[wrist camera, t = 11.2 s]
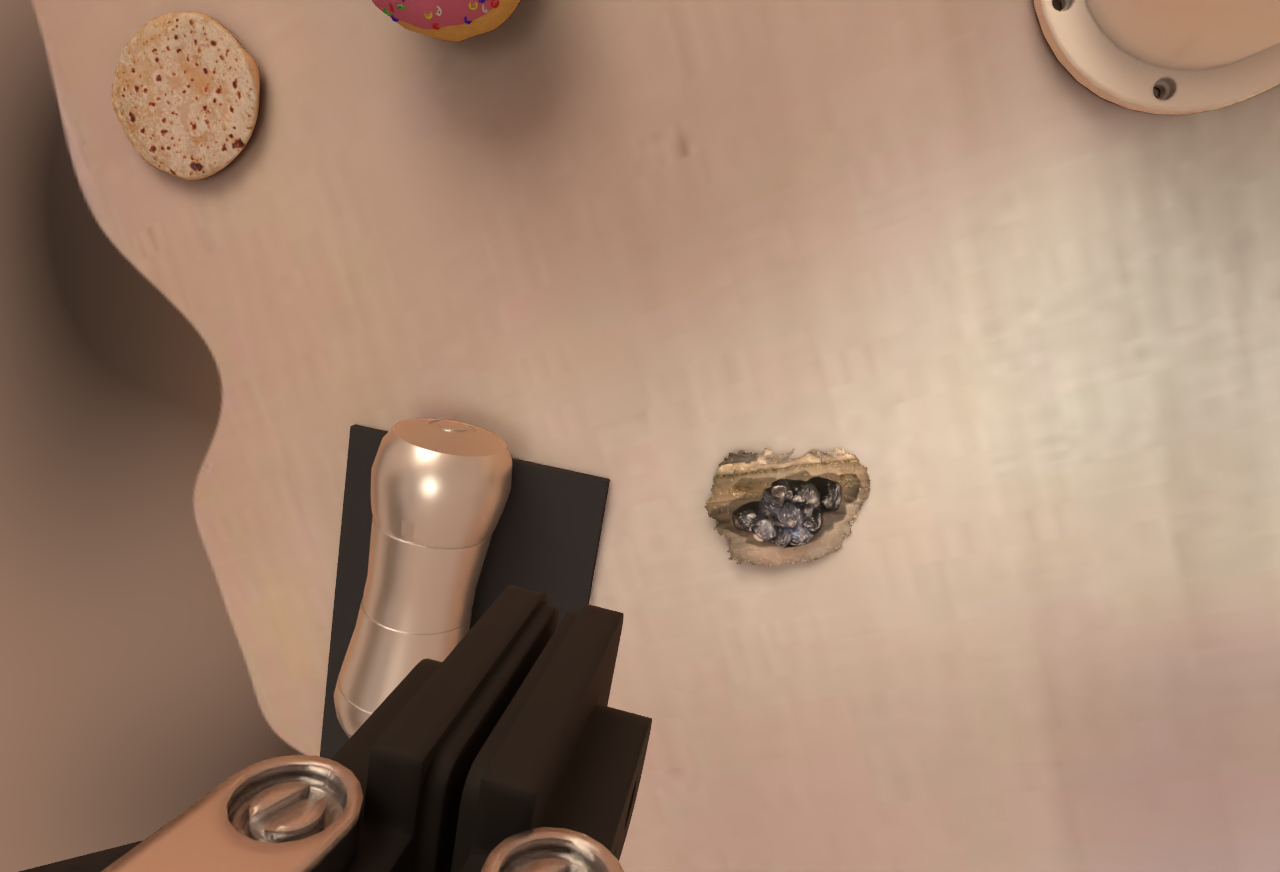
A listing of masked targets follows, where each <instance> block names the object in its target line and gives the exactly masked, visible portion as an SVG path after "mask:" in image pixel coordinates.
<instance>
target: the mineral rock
mask: <svg viewBox="0 0 1280 872" xmlns="http://www.w3.org/2000/svg"><path fill="white" fill-rule="evenodd" d="M765 449H766V448H765ZM793 450H795V449H792V452H791V453H788V456H787V457H783V454H782V455H781V458H779V457H778V456H773V457H772V456H771V455H772V453H773V452H772V451H771V450H769V449H766V450H765V451H764V455H763V456H762V455H757V454H756V453H755V454H752V452H751V453H749V454H748V452H747V453H745V452H744V451H742V450H741V451H739V452H738V453H737V454H735V453H734V454H733V453H729V454H730V455H729V457H728V458H727V459H726V458H724V461H723V462H722V463H720V464H719V466H720V467H719V469H718V470H717V473H716V475H715V477H714V479H713V480H714V481H713V482H714V485H712V486H713V488H712V489H711V492H712V493H713V494H714V493H715V494H716V497H714V498H712V497H711V498H710V499H709V500H708V501H709V502H708V501H707V503H706V504H707V505H706V506H705V508H706V509H707V511H708V515H709V516H710V517H712V518H713V519H716V520H717V521H718V523H719V524H717V525H716V527H714V529H718V533H719V534H720V535H723V534H724V535H725V537H726V538H727V537H729V538H730V540H731V545H730V546H729V550H728V551H727V552H730V553H731V557H730V558H729V560H730V559H731V560H736V559H738V562H737V564H738V563H739V564H741V563H743V562H744V561H746V560H747V561H748V560H749V561H750V562H751V563H752V564H755V563H756V565H757V564H759V565H760V564H761V565H763V566H764V565H765V566H767V565H768V566H770V565H772V566H773V565H776V566H780V565H781V564H782V563H783V562H784V561H785V562H787V561H788V563H789V562H790V561H792V565H794V564H795V563H796V562H798V561H799V560H800V559H801V560H802V561H803V562H805V561H807V562H808V561H810V562H811V561H812V560H816V559H818V558H820V557H821V556H823V555H824V554H828V553H829V552H831V551H832V550H836V551H837V550H838V549H839V548H840V546H841V545H842V544H841V543H842V540H843V538H844V535H846V536H848V535H849V534H850V533H852V532H851V531H850V529H851V528H850V527H851V525H850V524H849V523H848V522H849V521H852V520H853V518H854V517H855V518H856V517H858V515H857V514H856V511H857V510H859V509H860V507H861V506H862V503H863V500H865V499H866V498H868V493H869V490H870V488H869V484H870V483H869V481H870V480H869V477H868V476H869V475H868V474H867V473H866V471H867V470H866V469H867V467H866V468H865V467H864V466H861V465H860V464H859V460H858V458H857V457H856V456H855V455H854V456H853V455H850V454H849V453H848V454H847V453H846V451H845V450H844V449H842V450H839V449H837V448H836V451H834V452H833V453H831V454H829V451H827V453H822V452H819V451H817V452H814V450H812V451H811V452H809V453H807V454H806V455H805V456H803V457H802V458H801V459H800V458H799V459H794V460H792V459H791V458H790V457H791V454H792V453H793ZM794 549H796V550H794Z"/></svg>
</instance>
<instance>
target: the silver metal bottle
mask: <svg viewBox="0 0 1280 872" xmlns="http://www.w3.org/2000/svg"><path fill="white" fill-rule="evenodd" d="M511 481H512V458H511V455H510V453H509V450H508V448H507V445H506V443H505V442H504V440H503V439H501V438H500V437H499V436H497V435H496V434H494V433H492V432H490V431H488V430H485V429H482V428H480V427H477V426H473V425H470V424H466V423H461V422H458V421H453V420H442V419H429V418H421V419H409V420H405V421H401V422H399V423H397V424H396V425H395V426H394V427H393V428H392V429H391V430H390V431H389V432H388V433H387V434H386V435H385V436H384V437H383V438H382V441H381V443H380V446H379V449H378V452H377V454H376V457H375V460H374V463H373V465H372V468H371V510H372V514H373V517H372V528H371V540H370V552H369V564H368V575H367V580H366V584H365V588H364V592H363V595H364V596H363V598H362V601H361V605H360V610H359V614H358V618H357V622H356V626H355V629H354V632H353V635H352V638H351V641H350V644H349V647H348V650H347V652H346V655H345V658H344V661H343V664H342V667H341V671H340V672H339V676H338V680H337V684H336V688H335V692H334V703H335V709H336V715H337V718H338V721H339V723H340V725H341V726H342V728H343V730H344V731H345V733H346V734H347V736H348V737H349V738H351V736H352V735H353V734H354V733H355V732H356V731H357V730H358V729H359V728H360V726H361V725H362V724H363V723H364V722H365V721H366V720H367V719H368V718H369V717H370V715H371V714H372V713H373V712H374V711H375V710H376V709H377V708H378V707H379V706H380V704H381V703H382V702H383V701H384V700H385V699H386V698H387V697H388V696H389V695H390V693H391V692H392V691H393V690H394V689H395V688H396V687H397V686H398V685H399V684H400V682H401V681H402V680H403V679H404V678H405V677H406V676H407V675H408V674H409V672H410V671H411V670H412V669H413V668H414V667H415V666H416V665H417V664H418V663H419V662H420V661H421V660H423V659H428V658H429V659H432V660H436V661H440V662H443V661H444V660H445V659H446V657H447V656H448V655H449V654H450V653H451V652H452V650H453V649H454V648H455V647H456V646H457V644H458V643H459V642H460V641H461V640H462V639H463V637H464V636H465V635H466V634H467V633H468V632H469V628H470V621H471V615H472V606H473V603H474V596H475V590H476V586H477V582H478V579H479V576H480V573H481V569H482V566H483V563H484V560H485V556H486V553H487V550H488V547H489V543H490V540H491V537H492V534H493V531H494V530H495V528H496V526H497V524H498V521H499V519H500V517H501V515H502V513H503V510H504V507H505V504H506V502H507V499H508V496H509V493H510V491H511Z"/></svg>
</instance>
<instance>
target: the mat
mask: <svg viewBox="0 0 1280 872" xmlns="http://www.w3.org/2000/svg"><path fill="white" fill-rule="evenodd" d="M387 433H388V432H387V431H382V430H378V429H373V428H368V427H364V426H359V425H353V426H351V428H350V439H349V449H348V460H347V471H346V482H345V492H344V503H343V514H342V525H341V535H340V546H339V557H338V567H337V578H336V589H335V600H334V610H333V621H332V632H331V642H330V653H329V664H328V675H327V685H326V696H325V707H324V717H323V728H322V739H321V750H320V757H323V758H327V759H330V760H331V758H332V757H333V756H334V755H335V754H336V753H337V752H338V751H339V750H340V749H341V747H342V746H343V745H344V744H345V743H346V742H347V741H348V740H349V739H350V738H349V737H348V736H347V734H346V733H345V731H344V730H343V728H342V726H341V725H340V723H339V721H338V718H337V715H336V709H335V703H334V692H335V688H336V684H337V680H338V676H339V672H340V671H341V667H342V664H343V661H344V658H345V655H346V652H347V650H348V647H349V644H350V641H351V638H352V635H353V632H354V629H355V626H356V622H357V618H358V614H359V610H360V605H361V601H362V598H363V596H364V595H363V592H364V588H365V584H366V580H367V575H368V564H369V552H370V540H371V528H372V517H373V514H372V510H371V468H372V465H373V463H374V460H375V457H376V454H377V452H378V449H379V446H380V443H381V441H382V438H383V437H384V436H385V435H386V434H387ZM609 481H610V480H609V479H606V478H602V477H597V476H592V475H588V474H583V473H578V472H574V471H569V470H564V469H560V468H555V467H550V466H546V465H541V464H536V463H532V462H527V461H522V460H518V459H513V458H512V481H511V491H510V493H509V496H508V499H507V502H506V504H505V507H504V510H503V513H502V515H501V517H500V519H499V521H498V524H497V526H496V528H495V530H494V531H493V534H492V537H491V540H490V543H489V547H488V550H487V553H486V556H485V560H484V563H483V566H482V569H481V573H480V576H479V579H478V582H477V586H476V590H475V596H474V603H473V606H472V615H471V621H470V628H469V630H470V629H471V628H472V627H473V626H474V625H475V623H476V622H477V621H478V620H479V619H480V617H481V616H482V615H483V614H484V613H485V612H486V610H487V609H488V608H489V607H490V606H491V605H492V603H493V602H494V601H495V600H496V599H497V597H498V596H499V595H500V594H501V593H502V592H503V590H504V589H505V588H506V587H507V586H508V585H513V586H517V587H521V588H525V589H529V590H533V591H537V592H541V593H545V594H547V596H548V605H551V606H555V607H558V609H559V615H558V622H557V627H558V626H559V624H560V622H561V621H562V619H563V618H564V616H565V614H566V613H567V612H568V610H570V611H574V612H578V613H580V612H581V610H582V608H583V607H584V605H585V604H589V598H590V592H591V587H592V581H593V575H594V569H595V563H596V557H597V552H598V546H599V540H600V534H601V528H602V522H603V516H604V511H605V505H606V499H607V493H608V487H609Z"/></svg>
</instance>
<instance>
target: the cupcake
mask: <svg viewBox="0 0 1280 872" xmlns="http://www.w3.org/2000/svg"><path fill="white" fill-rule="evenodd" d="M372 1H373V3H374V4H375V5H376V6H377V7H378V8H379V9H380V10H381V11H383V12H384V13H385V14H387V15H388V16H390V17H391V18H392V20H393V21H395V22H398V23H399V24H400V25H401V26H403V27H404V28H406V29H409V30H411V31H415V32H418V33H421V34H424V35H428V36H431V37H434V38H437V39H441V40H445V41H461V40H464V39H467V38H469V37H472V36H476V35H479V34H483V33H486V32H489V31H492V30H494V29H495V28H497V27H498V26H500V25H501V24H502V23H503V22H504V21H505V20H506V19H507V18H508V17H509V16H510V15H511V14H512V13H513V11H514V10H515V8H516V7H517V5H518V3H519V2H520V0H372Z"/></svg>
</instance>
